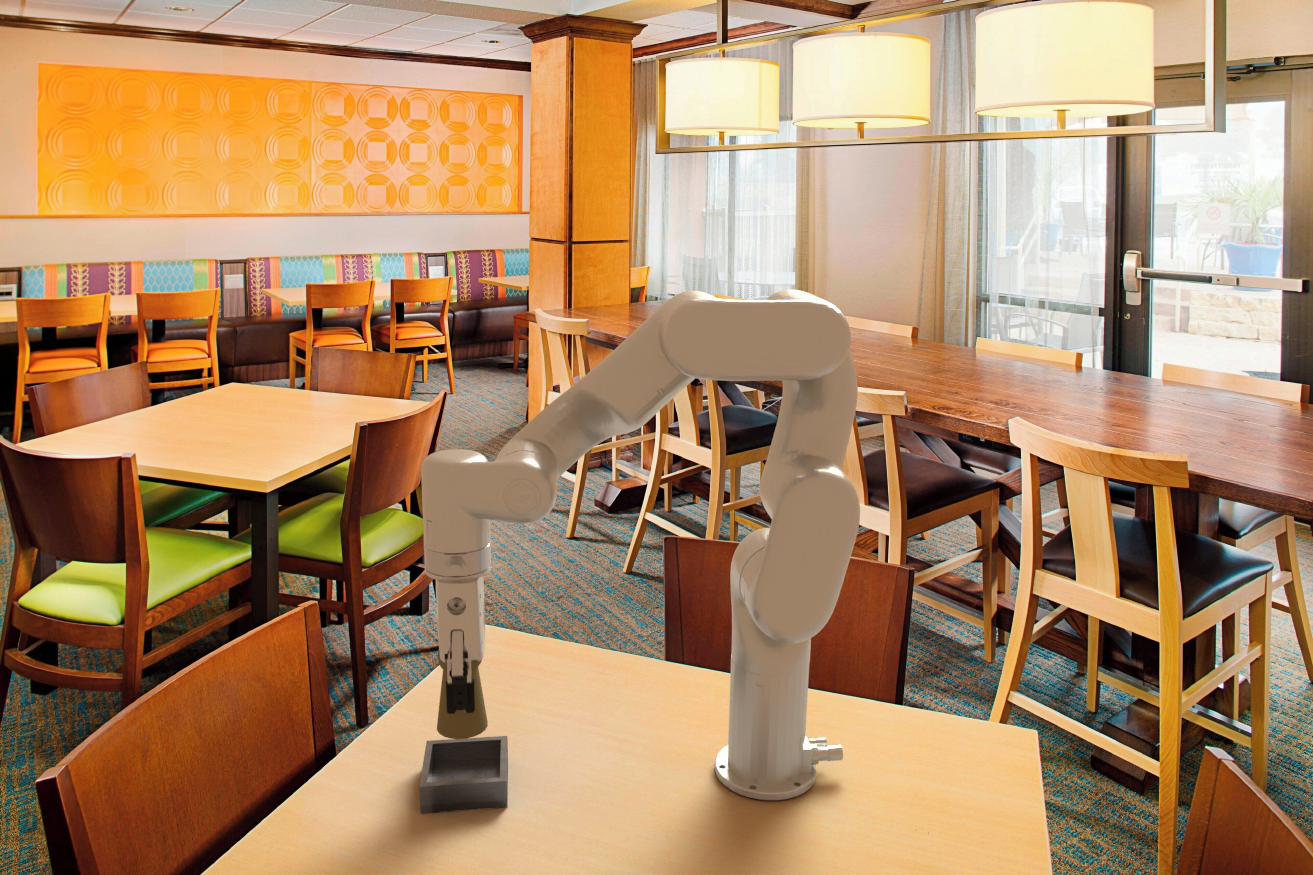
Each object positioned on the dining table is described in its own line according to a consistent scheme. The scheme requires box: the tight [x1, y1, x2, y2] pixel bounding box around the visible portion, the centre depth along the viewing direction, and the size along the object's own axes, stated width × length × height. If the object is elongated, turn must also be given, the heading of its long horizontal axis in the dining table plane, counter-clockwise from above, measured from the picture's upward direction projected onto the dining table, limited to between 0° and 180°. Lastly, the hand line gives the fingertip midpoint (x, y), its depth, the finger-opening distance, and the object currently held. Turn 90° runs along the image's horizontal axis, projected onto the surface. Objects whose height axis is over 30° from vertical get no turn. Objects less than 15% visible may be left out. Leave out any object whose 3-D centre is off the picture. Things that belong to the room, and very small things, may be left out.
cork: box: [436, 637, 489, 739], centre depth 117 cm, size 6×6×11 cm
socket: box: [418, 735, 509, 814], centre depth 120 cm, size 10×10×4 cm
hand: (462, 701), depth 117 cm, fingers closed on cork, 3 cm apart
